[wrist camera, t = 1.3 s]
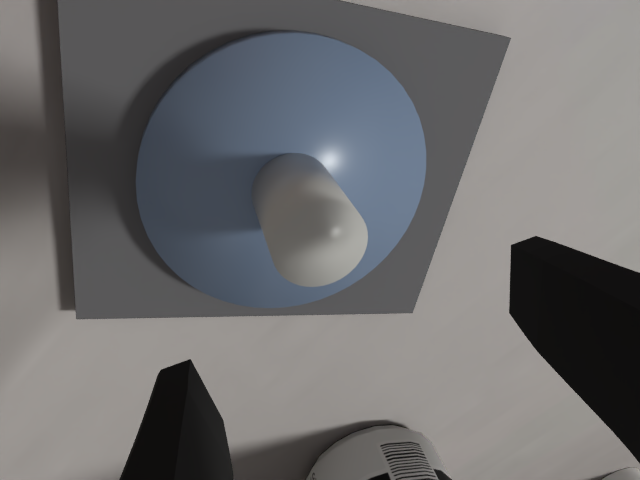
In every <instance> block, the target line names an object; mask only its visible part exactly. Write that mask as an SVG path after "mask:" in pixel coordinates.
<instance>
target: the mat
mask: <svg viewBox="0 0 640 480" xmlns="http://www.w3.org/2000/svg"><path fill="white" fill-rule="evenodd" d="M57 1H58V18H59V35H60V52H61V69H62V86H63V103H64V120H65V137H66V154H67V171H68V188H69V205H70V222H71V239H72V256H73V273H74V290H75V307H76V319H115V318H170V317H224V316H279V315H334V314H389V313H413V310H414V307H415V304H416V302H417V299H418V296H419V293H420V290H421V288H422V285H423V282H424V279H425V277H426V274H427V271H428V268H429V265H430V263H431V260H432V257H433V254H434V251H435V249H436V246H437V243H438V240H439V238H440V235H441V232H442V229H443V226H444V224H445V221H446V218H447V215H448V212H449V210H450V207H451V204H452V201H453V198H454V196H455V193H456V190H457V187H458V185H459V182H460V179H461V176H462V173H463V171H464V168H465V165H466V162H467V159H468V157H469V154H470V151H471V148H472V145H473V143H474V140H475V137H476V134H477V132H478V129H479V126H480V123H481V120H482V118H483V115H484V112H485V109H486V106H487V104H488V101H489V98H490V95H491V92H492V90H493V87H494V84H495V81H496V79H497V76H498V73H499V70H500V67H501V65H502V62H503V59H504V56H505V53H506V51H507V48H508V45H509V42H510V39H511V38H509V37H505V36H501V35H497V34H492V33H487V32H483V31H478V30H474V29H469V28H464V27H460V26H455V25H451V24H446V23H441V22H437V21H432V20H427V19H423V18H418V17H414V16H409V15H404V14H400V13H395V12H391V11H386V10H381V9H377V8H372V7H368V6H363V5H358V4H354V3H349V2H344V1H340V0H57ZM284 30H295V31H304V32H313V33H317V34H321V35H325V36H329V37H332V38H335V39H337V40H340V41H342V42H344V43H347V44H349V45H351V46H353V47H355V48H357V49H359V50H361V51H362V52H364V53H366V54H367V55H369V56H370V57H372V58H374V59H375V60H377V61H378V62H379V63H380V64H381V65H382V66H384V67H385V68H386V69H387V70H388V71H389V72H391V73H392V75H393V76H394V77H395V78H396V79H397V80H398V82H399V83H400V84H401V85H402V86H403V88H404V89H405V91H406V92H407V94H408V96H409V97H410V99H411V100H412V102H413V104H414V107H415V109H416V111H417V114H418V116H419V118H420V122H421V125H422V129H423V133H424V138H425V146H426V174H425V181H424V187H423V191H422V195H421V198H420V202H419V204H418V207H417V210H416V212H415V215H414V217H413V219H412V221H411V223H410V225H409V226H408V228H407V230H406V232H405V233H404V235H403V236H402V238H401V239H400V241H399V242H398V244H397V245H396V246H395V247H394V248H393V250H392V251H391V252H390V253H389V254H388V256H387V257H386V258H385V259H384V260H383V261H382V262H381V263H380V264H379V265H378V266H376V267H375V268H374V269H373V270H372V271H370V272H369V273H368V274H367V275H365V276H364V277H363V278H361V279H360V280H358V281H357V282H355V283H354V284H352V285H351V286H349V287H347V288H345V289H343V290H341V291H339V292H337V293H335V294H333V295H330V296H328V297H325V298H323V299H320V300H317V301H313V302H310V303H306V304H302V305H297V306H291V307H281V308H254V307H248V306H241V305H236V304H232V303H229V302H225V301H222V300H219V299H217V298H214V297H212V296H209V295H207V294H205V293H203V292H201V291H200V290H198V289H196V288H194V287H193V286H191V285H190V284H188V283H187V282H186V281H184V280H183V279H182V278H180V277H179V276H178V275H177V274H176V273H175V272H174V271H173V270H172V269H171V268H170V267H169V266H168V265H167V264H166V263H165V262H164V260H163V259H162V258H161V257H160V255H159V254H158V253H157V251H156V250H155V248H154V246H153V245H152V243H151V241H150V239H149V238H148V236H147V233H146V231H145V228H144V225H143V223H142V220H141V217H140V212H139V208H138V203H137V195H136V171H137V160H138V153H139V148H140V144H141V140H142V136H143V132H144V130H145V127H146V125H147V122H148V120H149V117H150V115H151V113H152V111H153V110H154V108H155V106H156V104H157V103H158V101H159V99H160V98H161V96H162V95H163V93H164V92H165V91H166V90H167V89H168V87H169V86H170V85H171V84H172V82H173V81H174V80H175V79H176V78H177V77H178V76H179V75H180V74H181V73H182V72H183V71H184V70H185V69H187V68H188V67H189V66H190V65H191V64H192V63H194V62H195V61H196V60H198V59H199V58H201V57H202V56H204V55H205V54H207V53H208V52H210V51H212V50H214V49H216V48H218V47H220V46H222V45H224V44H226V43H228V42H230V41H233V40H236V39H239V38H242V37H245V36H248V35H252V34H257V33H263V32H268V31H284Z"/></svg>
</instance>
